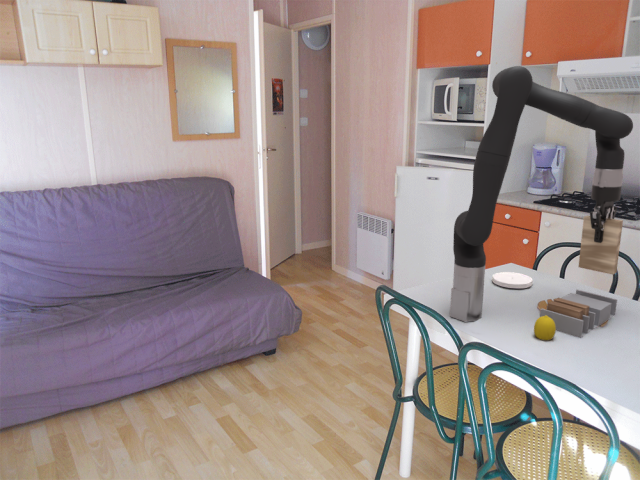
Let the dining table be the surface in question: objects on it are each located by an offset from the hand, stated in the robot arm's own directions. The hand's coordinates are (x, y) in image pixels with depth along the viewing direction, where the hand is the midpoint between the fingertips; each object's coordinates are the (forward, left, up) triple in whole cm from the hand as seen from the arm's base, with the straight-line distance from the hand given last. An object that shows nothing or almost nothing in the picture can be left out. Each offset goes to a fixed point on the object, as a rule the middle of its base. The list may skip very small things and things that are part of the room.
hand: (600, 241), depth 154 cm
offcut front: (-18, 0, -23) cm, 29 cm away
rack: (-9, 0, -24) cm, 26 cm away
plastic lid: (+10, +32, -25) cm, 42 cm away
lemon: (-28, +1, -25) cm, 37 cm away
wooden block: (0, 0, -9) cm, 9 cm away
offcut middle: (-14, 0, -23) cm, 27 cm away
